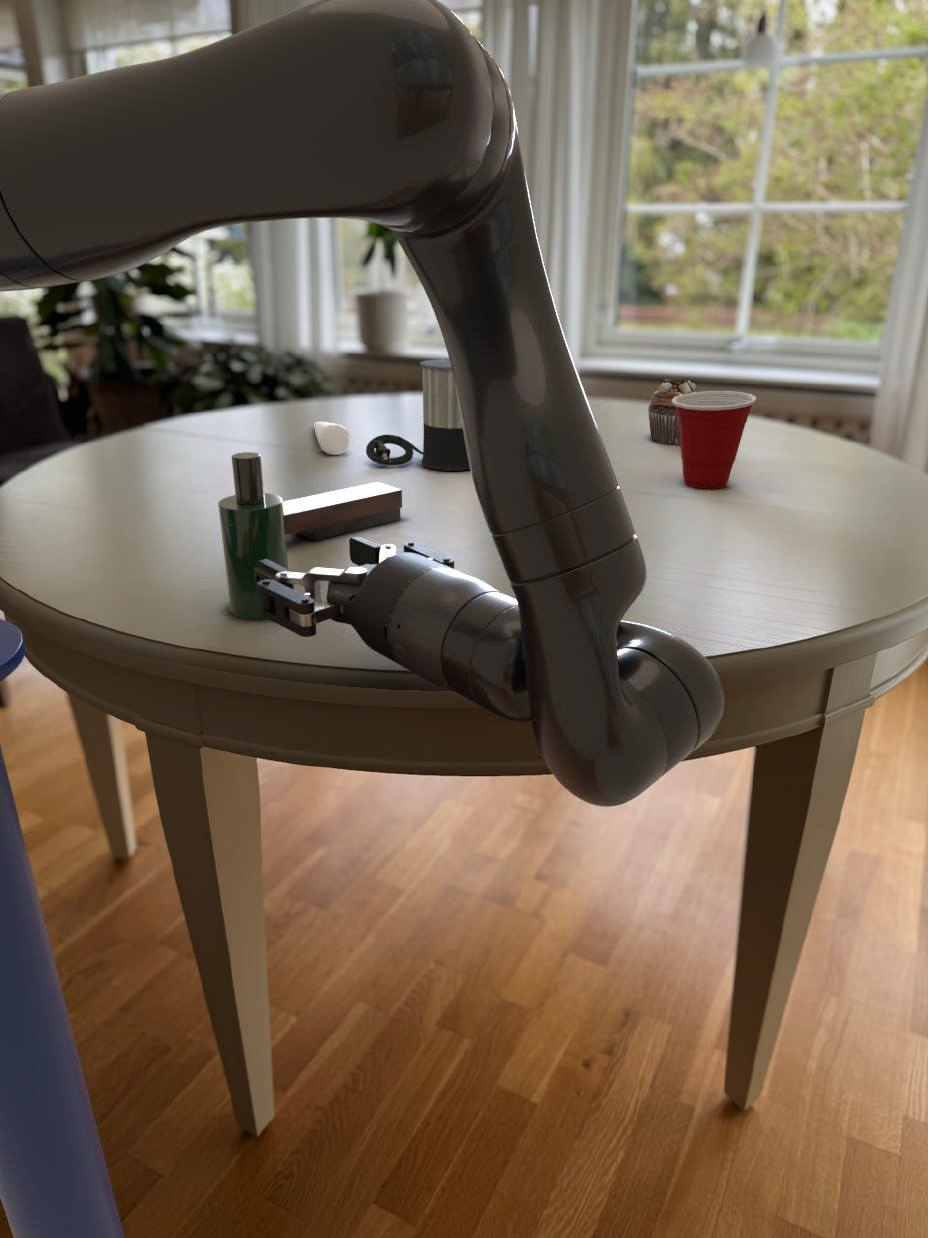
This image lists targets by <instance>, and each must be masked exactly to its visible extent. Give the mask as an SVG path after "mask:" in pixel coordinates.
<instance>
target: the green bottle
mask: <svg viewBox="0 0 928 1238" xmlns="http://www.w3.org/2000/svg"><path fill="white" fill-rule="evenodd" d="M230 459H231V467H232V476H233V485H234V493H235V494H232V495H229V496H227V497H224V498H222V499H220V500H219V501H218V502H217V506H218V514H219V522H220V530H221V531H220V532H221V539H222V547H223V548H222V549H223V556H224V566H225V574H226V584H227V591H228V600H229V608H230V609H229V610H230V613H231V614H232V615H233V616H234V617H237V618H238V619H239V618H240V619H244V620H251V621H252V620H255V621H256V620H266V619H267V618H265V617H263V616H262V615H261V611H260V608H261V605H260V595H259V590H258V588H257V586H256V579H255V569H254V568H256V567H257V565H256V564H257V561H260V560H264V559H268V560H270V561H272V562H274V563H275V564H277V565H279V566H281V567H283V568H285V569H287V570H289V562H288V561H289V560H288V550H287V538H286V535H285V524H284V513H283V501H284V500H283V498H282V497H281V496H279V495H277V494H273V493H267V492H265V488H264V478H263V468H262V467H263V466H262V456H261V454H260V453H258V452H254V451H253V452H252V451H251V452H250V451H244V452H237V453H234V454H232V455H231V457H230ZM267 620H268V619H267Z"/></svg>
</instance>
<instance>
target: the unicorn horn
mask: <svg viewBox="0 0 928 1238" xmlns="http://www.w3.org/2000/svg"><path fill="white" fill-rule="evenodd" d="M313 427H314V432H315V435H316V439H317V442H318V445H319V447H320V449H321V450H322V451H323V452H324V453H326V454H327V455H331V456H340V455H342V454H345V453H346V451H347V450H348V449H349V446H350V443H351V436H350V433H349V430H348V429H347V428H346V427H344V425H341V424H337V423H333V422H328V421H315V422H314V423H313Z"/></svg>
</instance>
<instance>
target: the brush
mask: <svg viewBox="0 0 928 1238" xmlns="http://www.w3.org/2000/svg"><path fill="white" fill-rule="evenodd" d="M282 501H283V513H284V524H285V536H286V535H292V534H295V533H296V534H300V535H302V536H304V537H306V538H308V539H311V540H313V541H315V542H316V541H320V540H324V539H328V538H332V537H336V536H340V535H343V534H344V535H345V534H348V533H352V532H357V531H361V530H365V529H368V528H373V527H377V526H382V525H384V524H388V523H389V524H390V523H392V522H397V521H401V509H402V508H403V490H402V489H400V488H397V487H394V486H391V485H388V484H385V483H382V482H379V481H375V482H371V483H366V484H362V485H361V484H360V485H356V486H351V487H346V488H343V489H337V490H333V491H327V492H322V493H318V494H312V495H308V496H304V497H298V498H293V499H288V500H282Z"/></svg>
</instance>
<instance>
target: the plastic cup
mask: <svg viewBox="0 0 928 1238" xmlns="http://www.w3.org/2000/svg"><path fill="white" fill-rule="evenodd" d="M756 399H757V396H755V395H753V394H752V393H747V392H742V391H732V390H706V391H694V393H688V394H683V395H680V396H677V397H674V398H673V399H672V403H673V404H674V406H675V408H676V413H677V416H678V421H679V432H680V445H679V446H680V457H681V462H682V463H681V464H682V478H683V482H684V484H685V485H686V486H689V487H693V488H697V489H705V490H706V489H707V490H713V489H714V490H715V489H721V488H725V487H726V486H727V484H728V482H729V480H730V477H731V472H732V469H733V465H734V463H735V461H736V458H737V454H738V451H739V447H740V443H741V440H742V437H743V433H744V430H745V427H746V424H747V421H748V418H749V416H750V413H751V409H752V407H753V405H754V404H755V402H756Z"/></svg>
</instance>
